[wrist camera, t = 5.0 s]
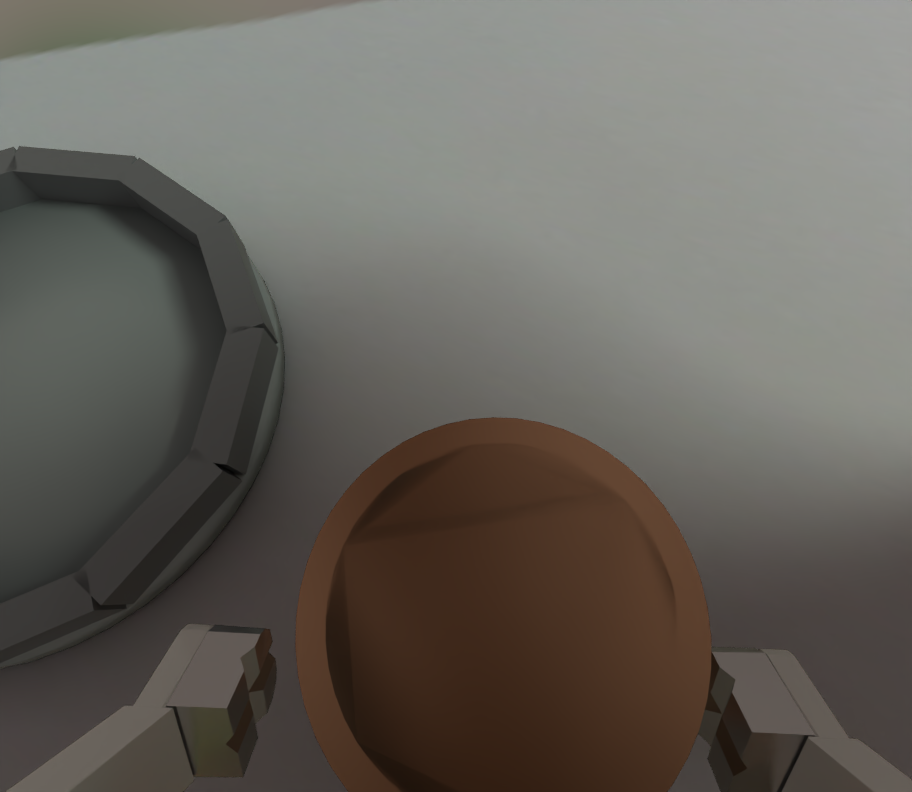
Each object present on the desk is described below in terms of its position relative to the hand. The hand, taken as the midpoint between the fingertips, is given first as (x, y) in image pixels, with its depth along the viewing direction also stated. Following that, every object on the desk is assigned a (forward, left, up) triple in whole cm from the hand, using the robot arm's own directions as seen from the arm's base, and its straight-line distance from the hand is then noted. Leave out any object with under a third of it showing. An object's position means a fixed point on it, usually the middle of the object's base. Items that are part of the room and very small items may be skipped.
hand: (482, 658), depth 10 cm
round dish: (+11, -14, -7) cm, 19 cm away
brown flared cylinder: (-1, -1, -7) cm, 7 cm away
